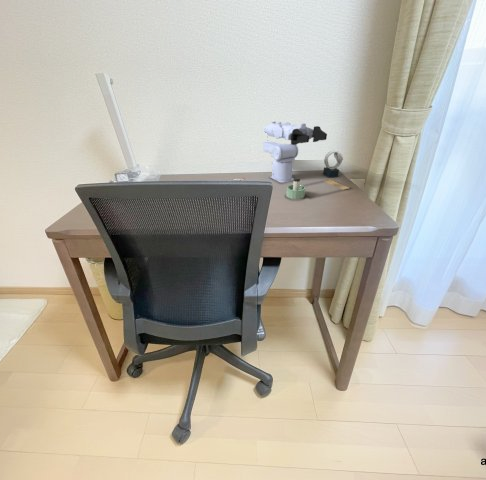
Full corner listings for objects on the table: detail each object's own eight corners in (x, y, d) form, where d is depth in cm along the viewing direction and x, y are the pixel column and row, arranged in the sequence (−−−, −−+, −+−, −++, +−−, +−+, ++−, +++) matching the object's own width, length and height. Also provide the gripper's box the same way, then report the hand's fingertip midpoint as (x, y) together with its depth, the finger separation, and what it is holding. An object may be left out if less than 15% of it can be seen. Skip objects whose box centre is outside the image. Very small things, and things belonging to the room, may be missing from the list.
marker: (291, 194, 102) (292, 177, 98) (296, 193, 103) (297, 176, 99) (294, 196, 100) (296, 179, 96) (299, 195, 101) (301, 178, 97)
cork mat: (291, 188, 109) (291, 187, 109) (329, 180, 115) (329, 179, 115) (309, 198, 100) (310, 197, 100) (349, 188, 106) (350, 187, 105)
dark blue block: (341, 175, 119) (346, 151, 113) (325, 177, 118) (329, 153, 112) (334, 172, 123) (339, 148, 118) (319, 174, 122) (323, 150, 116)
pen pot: (282, 195, 103) (283, 186, 101) (297, 191, 106) (298, 183, 103) (292, 201, 98) (293, 192, 96) (308, 197, 100) (309, 188, 98)
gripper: (280, 124, 99) (301, 127, 88) (311, 120, 103) (335, 123, 92) (278, 143, 103) (299, 149, 92) (309, 139, 107) (332, 144, 96)
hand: (317, 138), depth 92 cm, fingers open, 7 cm apart
